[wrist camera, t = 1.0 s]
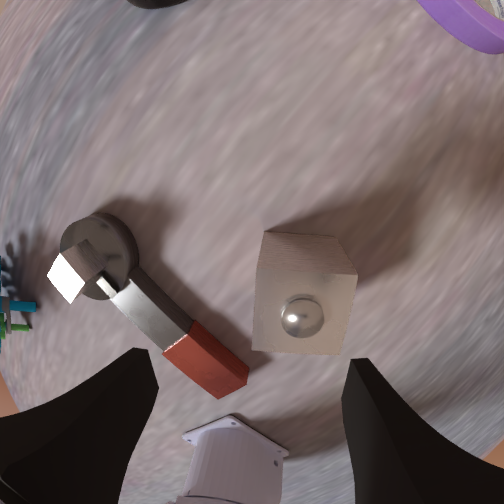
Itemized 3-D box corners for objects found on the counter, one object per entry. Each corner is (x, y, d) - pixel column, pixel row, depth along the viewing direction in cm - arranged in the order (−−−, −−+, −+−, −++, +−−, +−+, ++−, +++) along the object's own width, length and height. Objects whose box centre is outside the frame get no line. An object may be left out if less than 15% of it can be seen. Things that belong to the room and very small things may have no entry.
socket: (335, 236, 18) (360, 279, 12) (325, 300, 20) (340, 359, 14) (263, 231, 18) (255, 271, 12) (259, 295, 20) (250, 355, 14)
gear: (-10, 231, 19) (-22, 319, 14) (40, 238, 23) (40, 325, 18) (-8, 296, 24) (-7, 371, 19) (32, 300, 28) (38, 373, 23)
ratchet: (262, 360, 22) (256, 408, 17) (211, 389, 24) (198, 433, 19) (100, 196, 19) (54, 212, 14) (66, 247, 20) (25, 271, 15)
